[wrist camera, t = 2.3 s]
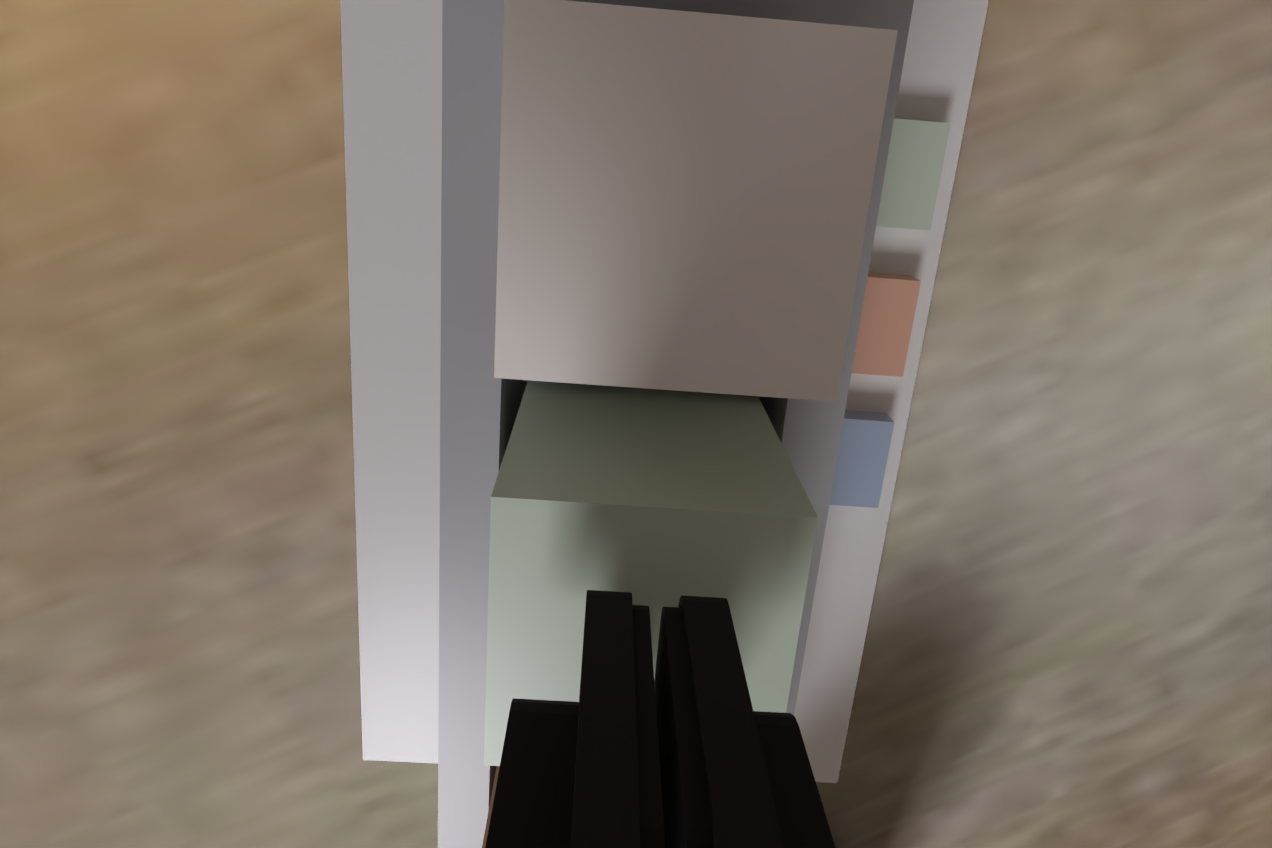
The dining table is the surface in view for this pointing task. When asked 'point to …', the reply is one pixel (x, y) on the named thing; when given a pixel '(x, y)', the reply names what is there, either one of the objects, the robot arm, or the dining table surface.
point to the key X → (683, 196)
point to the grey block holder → (487, 407)
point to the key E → (640, 533)
